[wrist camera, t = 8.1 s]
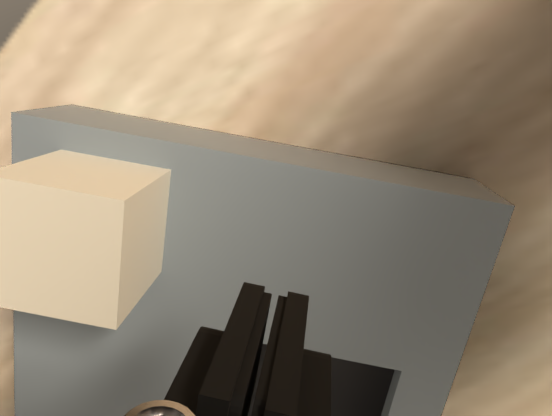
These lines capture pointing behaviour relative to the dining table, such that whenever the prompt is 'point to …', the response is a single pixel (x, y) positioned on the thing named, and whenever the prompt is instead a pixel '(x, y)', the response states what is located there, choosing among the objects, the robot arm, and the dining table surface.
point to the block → (80, 235)
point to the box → (272, 267)
